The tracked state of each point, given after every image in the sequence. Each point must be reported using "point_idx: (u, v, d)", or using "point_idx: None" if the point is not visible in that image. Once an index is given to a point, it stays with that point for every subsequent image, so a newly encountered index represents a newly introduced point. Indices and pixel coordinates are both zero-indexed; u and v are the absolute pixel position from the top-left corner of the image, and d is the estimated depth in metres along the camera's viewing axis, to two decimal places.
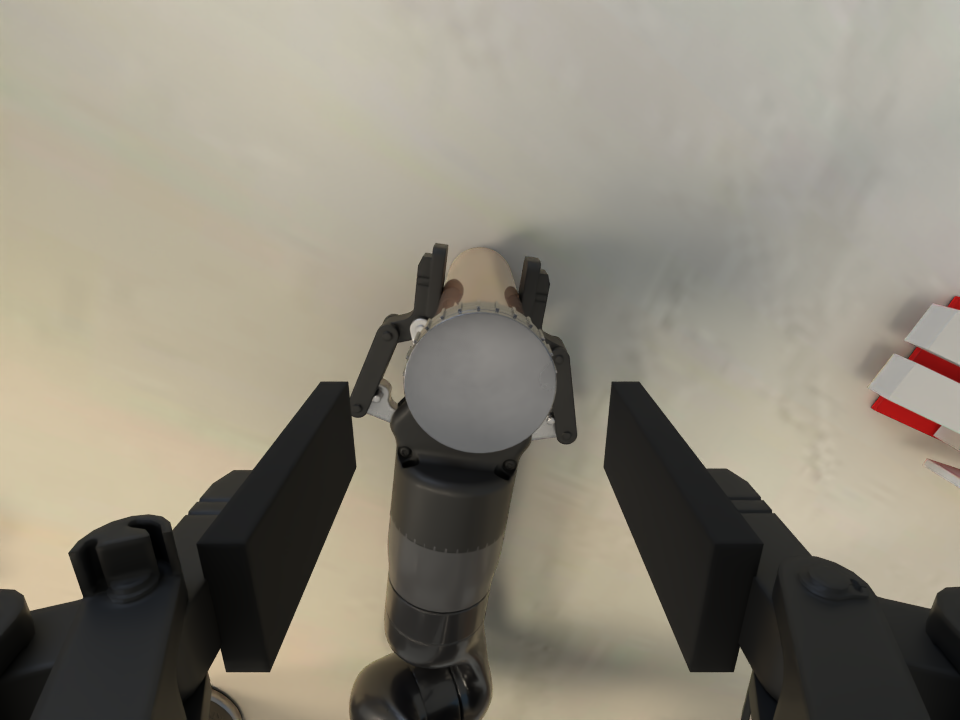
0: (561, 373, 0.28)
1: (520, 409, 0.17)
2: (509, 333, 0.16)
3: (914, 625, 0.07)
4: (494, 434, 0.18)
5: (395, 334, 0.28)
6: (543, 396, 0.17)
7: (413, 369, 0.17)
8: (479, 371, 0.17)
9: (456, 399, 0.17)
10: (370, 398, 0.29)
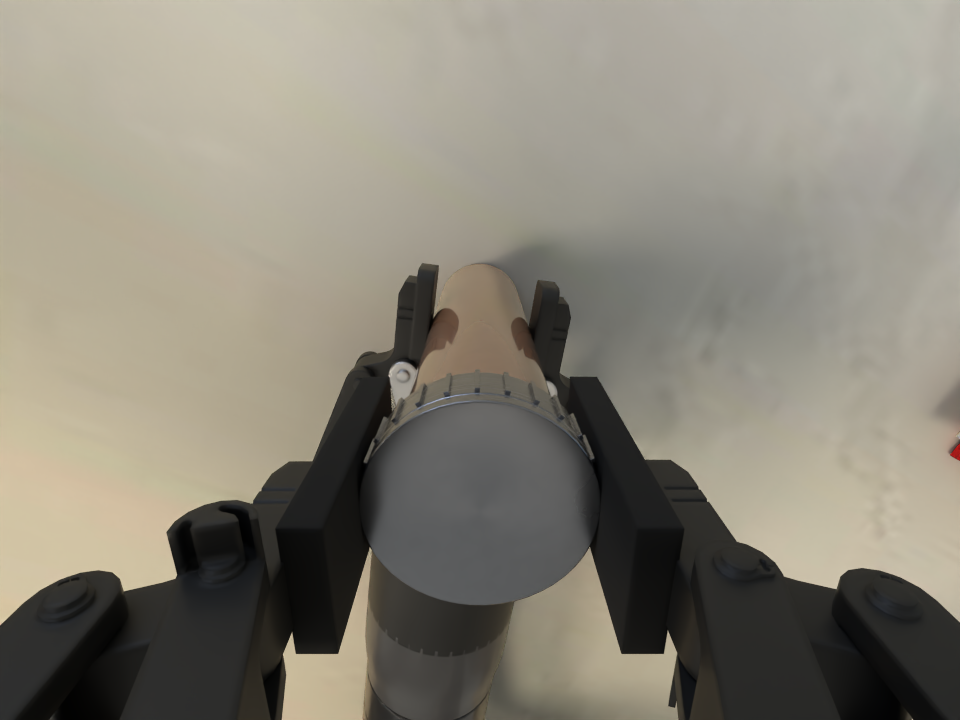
0: None
1: (543, 544, 0.11)
2: (527, 433, 0.10)
3: (821, 605, 0.07)
4: (502, 579, 0.11)
5: None
6: (580, 525, 0.11)
7: (373, 486, 0.10)
8: (478, 489, 0.10)
9: (442, 530, 0.11)
10: None
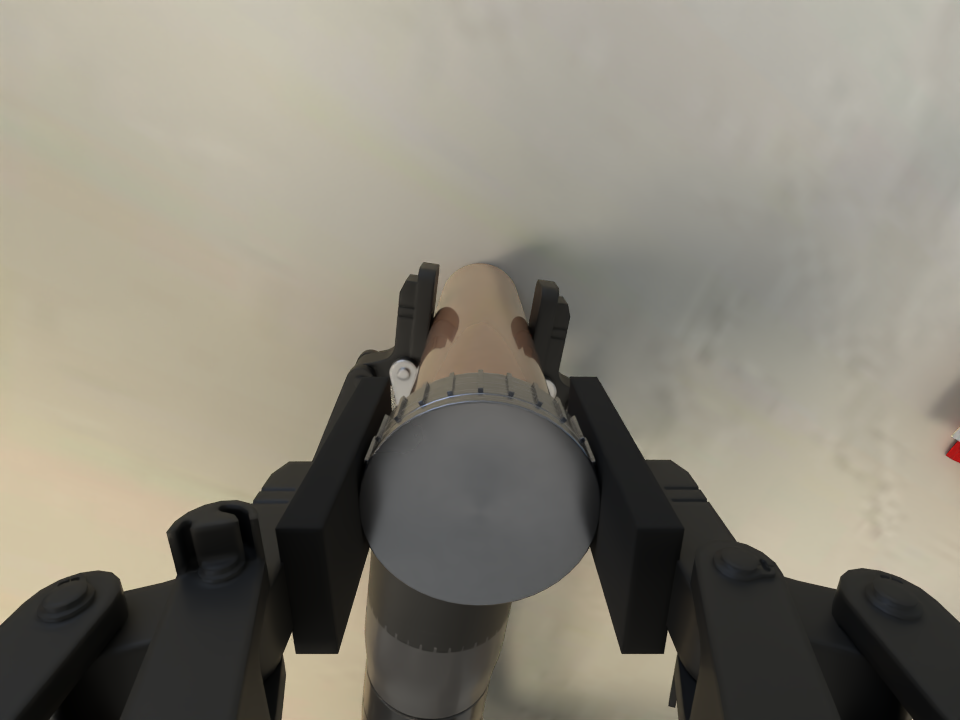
0: None
1: (477, 444, 0.10)
2: (381, 520, 0.11)
3: (821, 605, 0.07)
4: (541, 453, 0.10)
5: None
6: (435, 427, 0.10)
7: (510, 593, 0.11)
8: (458, 524, 0.11)
9: (518, 528, 0.11)
10: None
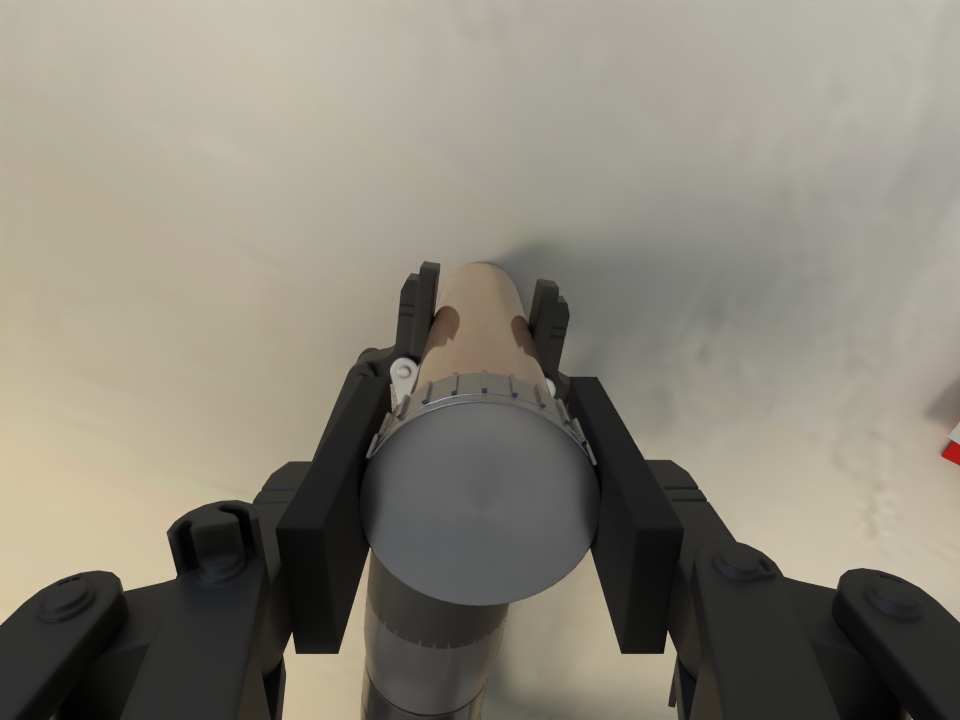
0: None
1: (418, 547, 0.11)
2: (539, 573, 0.11)
3: (821, 605, 0.07)
4: (391, 501, 0.11)
5: None
6: (426, 580, 0.11)
7: (553, 437, 0.10)
8: (504, 520, 0.11)
9: (475, 474, 0.10)
10: None
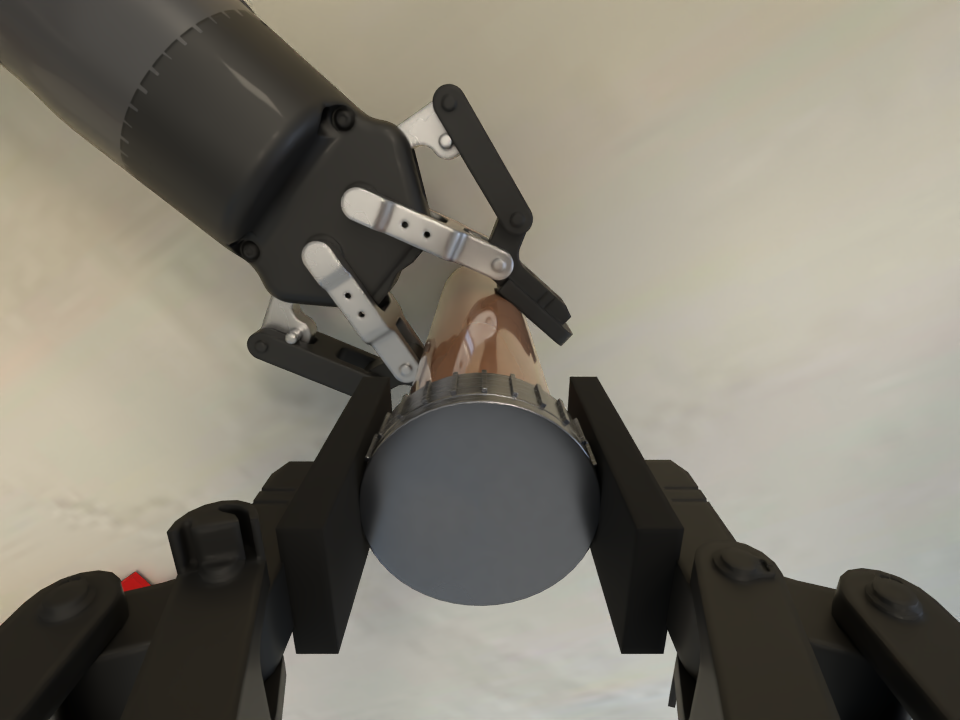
0: (349, 382, 0.22)
1: (418, 547, 0.11)
2: (539, 573, 0.11)
3: (821, 605, 0.07)
4: (391, 500, 0.11)
5: (512, 230, 0.20)
6: (426, 580, 0.11)
7: (553, 437, 0.10)
8: (503, 520, 0.11)
9: (474, 474, 0.10)
10: (451, 133, 0.18)
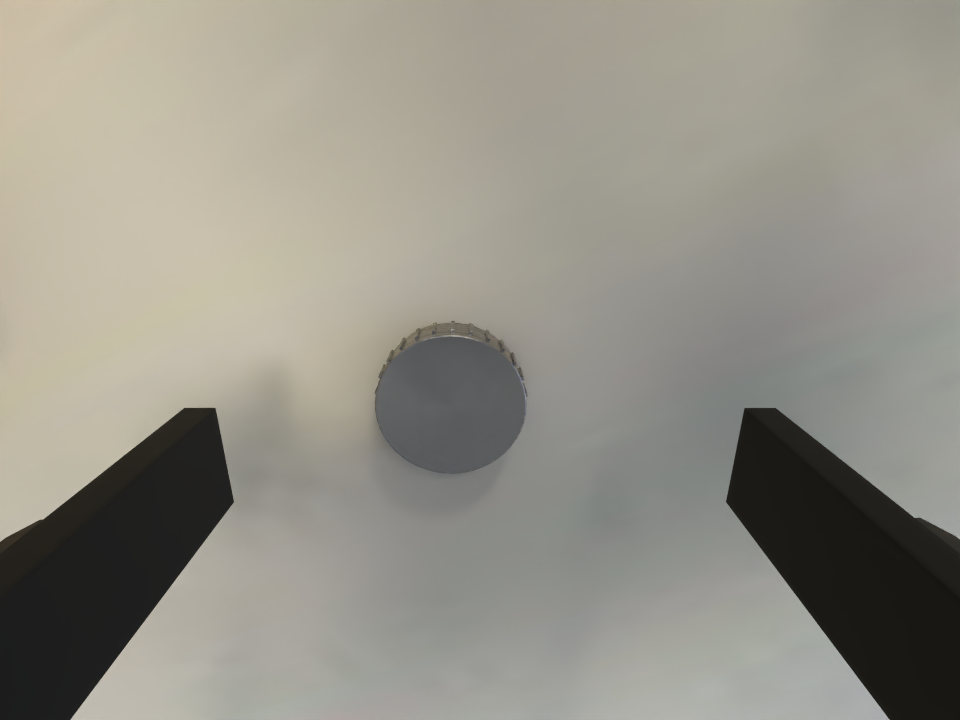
0: None
1: (413, 432, 0.17)
2: (489, 449, 0.18)
3: None
4: (395, 400, 0.17)
5: None
6: (418, 455, 0.18)
7: (494, 357, 0.17)
8: (466, 412, 0.17)
9: (447, 382, 0.17)
10: None
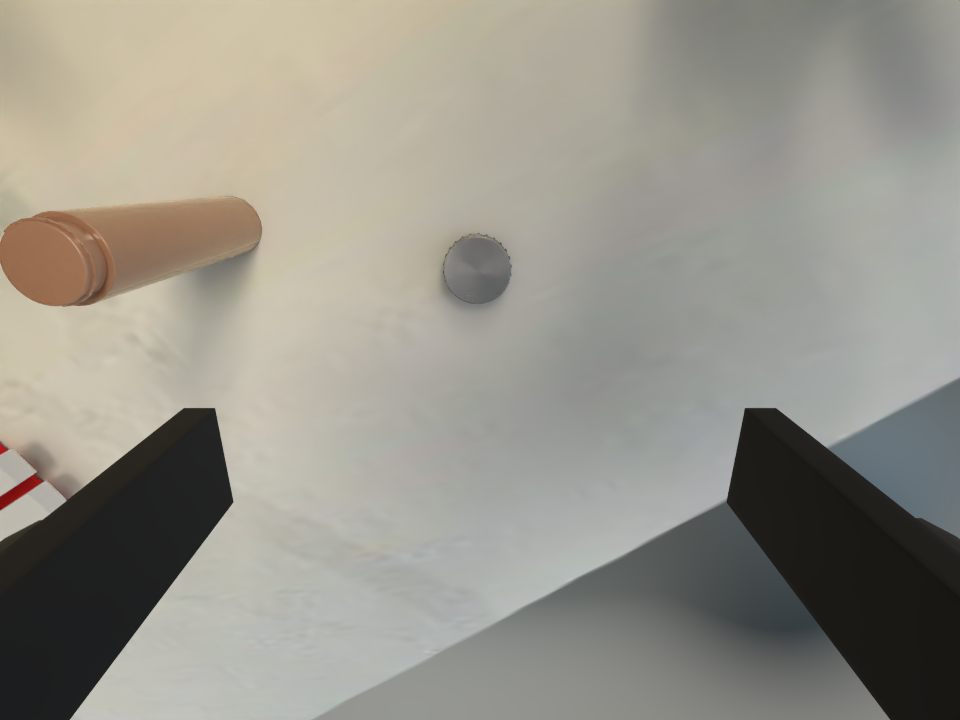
0: None
1: (460, 282, 0.39)
2: (494, 291, 0.39)
3: None
4: (453, 267, 0.39)
5: None
6: (462, 294, 0.39)
7: (496, 247, 0.38)
8: (484, 273, 0.39)
9: (475, 258, 0.38)
10: None
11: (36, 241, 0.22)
